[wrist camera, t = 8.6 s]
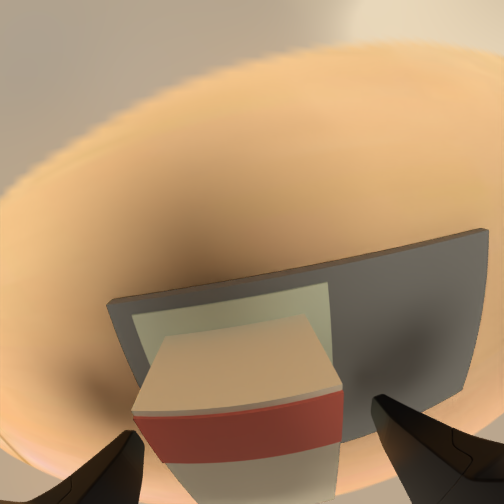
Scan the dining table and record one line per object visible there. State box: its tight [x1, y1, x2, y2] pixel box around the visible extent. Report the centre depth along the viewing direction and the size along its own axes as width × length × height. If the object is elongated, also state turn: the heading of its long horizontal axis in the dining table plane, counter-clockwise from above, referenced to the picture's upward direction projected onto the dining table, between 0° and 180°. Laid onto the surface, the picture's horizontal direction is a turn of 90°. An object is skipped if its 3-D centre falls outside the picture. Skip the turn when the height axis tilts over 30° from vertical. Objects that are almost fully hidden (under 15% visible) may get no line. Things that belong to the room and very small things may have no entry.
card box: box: [131, 314, 344, 504], centre depth 8 cm, size 7×5×4 cm
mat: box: [106, 228, 489, 444], centre depth 10 cm, size 17×10×1 cm, turn 100°
